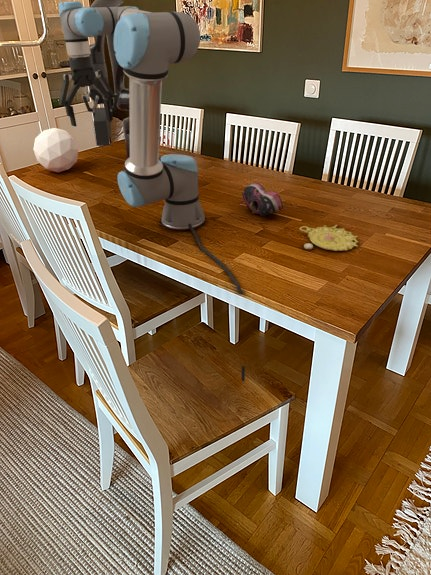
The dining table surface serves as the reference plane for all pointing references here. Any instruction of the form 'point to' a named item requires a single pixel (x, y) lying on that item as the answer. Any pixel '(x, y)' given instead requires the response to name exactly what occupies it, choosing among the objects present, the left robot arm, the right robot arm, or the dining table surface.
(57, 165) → the sphere
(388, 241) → the dining table surface
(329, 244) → the decorative object
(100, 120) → the bar
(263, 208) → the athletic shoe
